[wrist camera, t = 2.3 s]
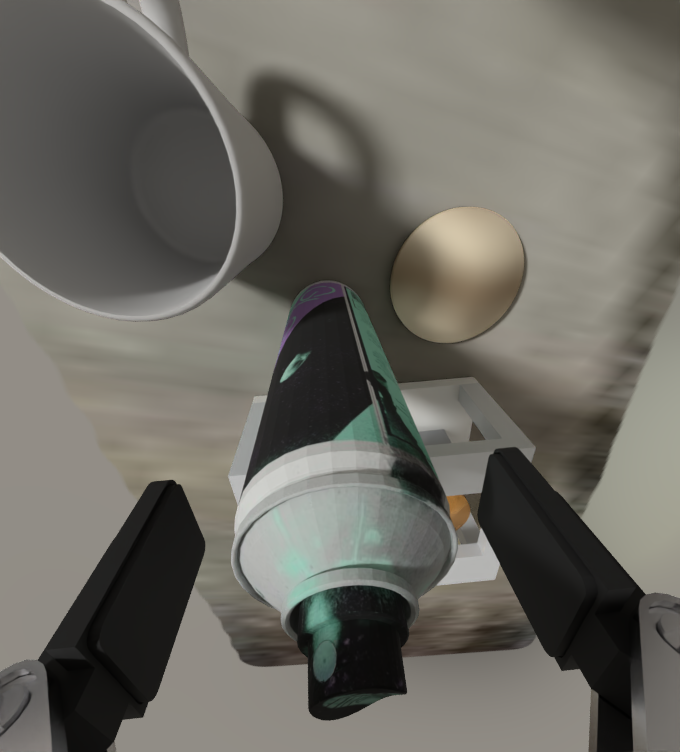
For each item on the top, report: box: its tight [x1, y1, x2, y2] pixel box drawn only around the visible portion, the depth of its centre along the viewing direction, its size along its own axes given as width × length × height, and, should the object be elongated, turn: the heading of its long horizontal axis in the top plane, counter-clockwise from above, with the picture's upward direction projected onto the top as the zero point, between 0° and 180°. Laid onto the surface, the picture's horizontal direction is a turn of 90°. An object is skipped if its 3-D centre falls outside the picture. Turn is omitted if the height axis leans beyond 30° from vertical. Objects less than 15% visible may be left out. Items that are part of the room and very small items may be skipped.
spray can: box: [231, 281, 458, 720], centre depth 14 cm, size 6×6×20 cm
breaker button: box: [446, 495, 470, 530], centre depth 24 cm, size 5×5×4 cm
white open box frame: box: [228, 377, 536, 585], centre depth 25 cm, size 14×18×8 cm
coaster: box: [390, 207, 524, 343], centre depth 22 cm, size 9×9×1 cm
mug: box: [0, 0, 283, 322], centre depth 13 cm, size 12×8×11 cm
